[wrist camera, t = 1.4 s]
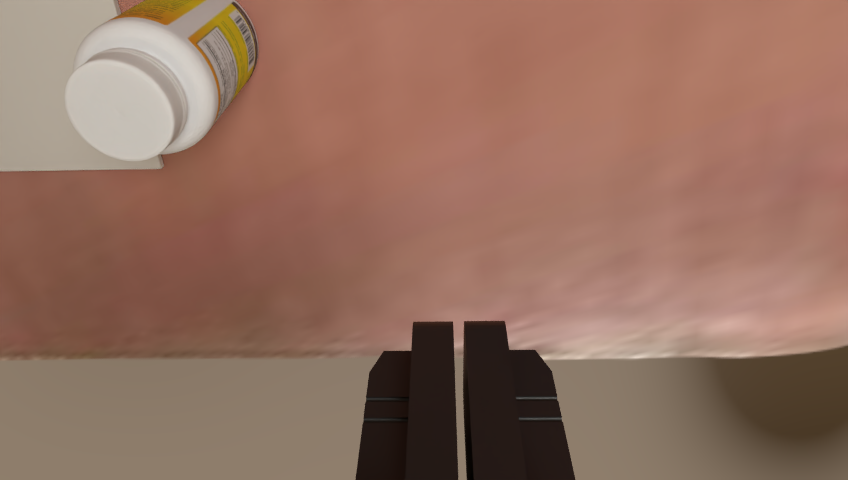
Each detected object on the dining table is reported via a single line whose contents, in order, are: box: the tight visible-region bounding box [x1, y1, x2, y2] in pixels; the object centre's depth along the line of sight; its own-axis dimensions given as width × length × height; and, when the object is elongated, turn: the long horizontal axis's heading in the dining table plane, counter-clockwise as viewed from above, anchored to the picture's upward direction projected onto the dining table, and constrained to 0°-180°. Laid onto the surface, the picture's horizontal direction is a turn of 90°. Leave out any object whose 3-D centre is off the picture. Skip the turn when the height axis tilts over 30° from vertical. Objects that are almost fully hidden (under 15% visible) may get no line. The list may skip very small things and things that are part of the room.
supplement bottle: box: [64, 0, 258, 161], centre depth 27 cm, size 6×6×10 cm
